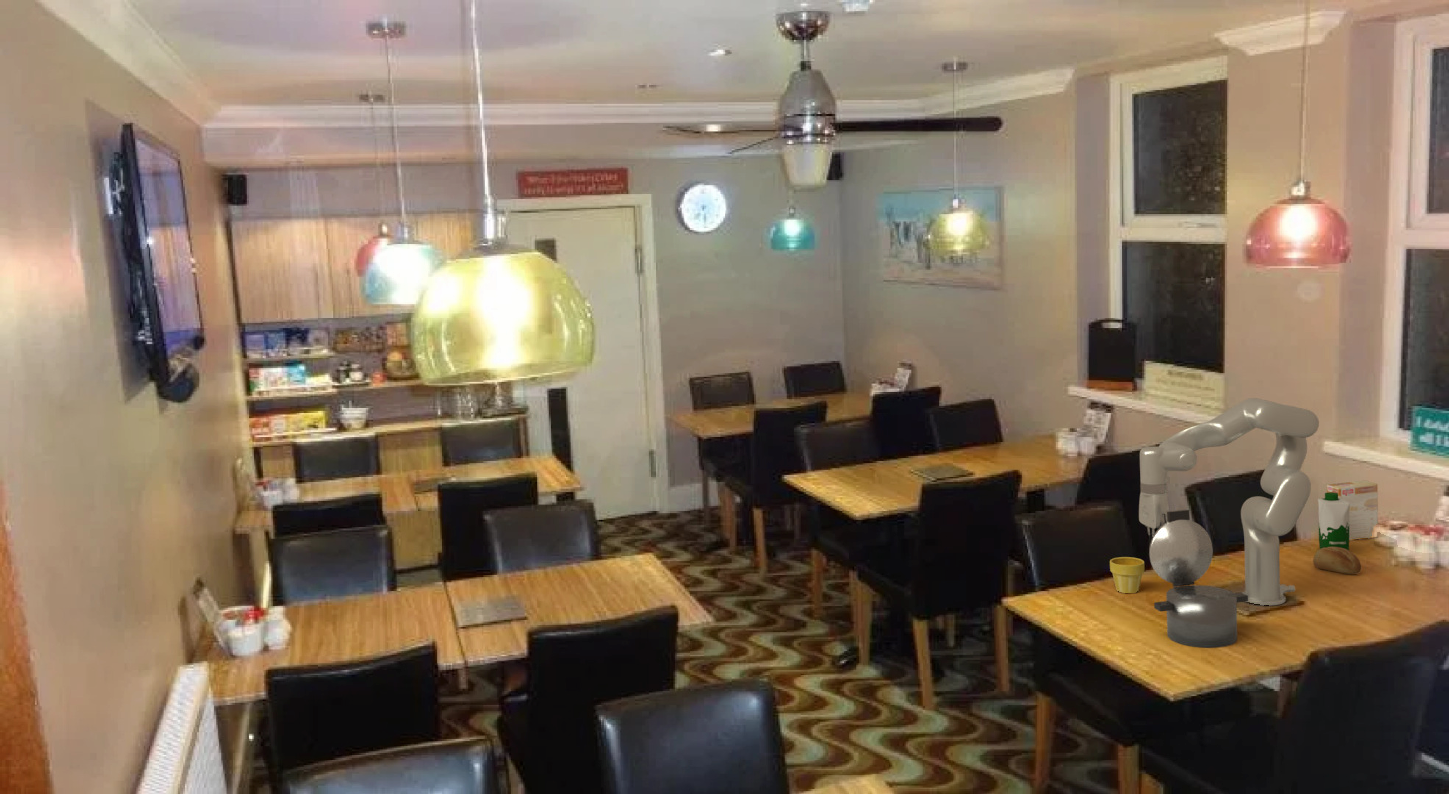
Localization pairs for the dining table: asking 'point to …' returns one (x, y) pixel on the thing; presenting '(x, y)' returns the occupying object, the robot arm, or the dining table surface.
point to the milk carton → (1333, 521)
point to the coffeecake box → (1359, 506)
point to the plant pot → (1127, 573)
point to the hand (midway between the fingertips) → (1155, 548)
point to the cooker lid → (1180, 550)
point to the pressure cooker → (1201, 615)
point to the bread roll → (1337, 560)
